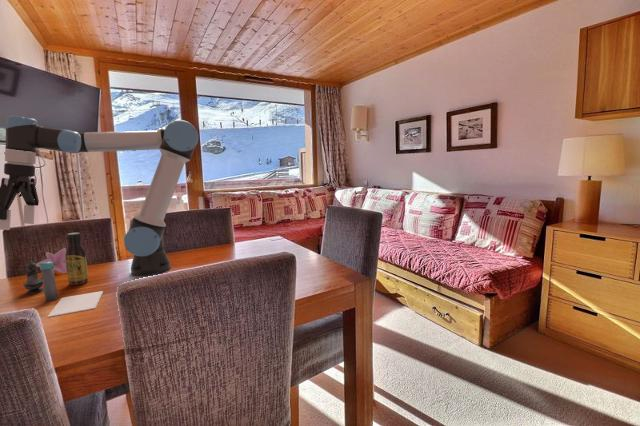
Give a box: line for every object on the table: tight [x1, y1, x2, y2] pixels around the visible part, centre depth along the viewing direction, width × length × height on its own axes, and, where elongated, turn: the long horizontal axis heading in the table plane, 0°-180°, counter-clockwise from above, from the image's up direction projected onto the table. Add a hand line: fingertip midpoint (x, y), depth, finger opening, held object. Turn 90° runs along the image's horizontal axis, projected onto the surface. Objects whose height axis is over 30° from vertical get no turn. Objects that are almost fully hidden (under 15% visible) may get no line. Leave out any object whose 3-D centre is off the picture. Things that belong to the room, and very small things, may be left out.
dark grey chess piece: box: [22, 259, 44, 295], centre depth 117 cm, size 6×6×12 cm
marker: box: [39, 261, 59, 302], centre depth 109 cm, size 3×3×13 cm
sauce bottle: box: [65, 232, 89, 286], centre depth 124 cm, size 6×6×20 cm
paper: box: [46, 290, 104, 318], centre depth 106 cm, size 12×16×1 cm
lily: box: [35, 247, 67, 274], centre depth 140 cm, size 12×12×10 cm
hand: (17, 226), depth 109 cm, fingers open, 13 cm apart
